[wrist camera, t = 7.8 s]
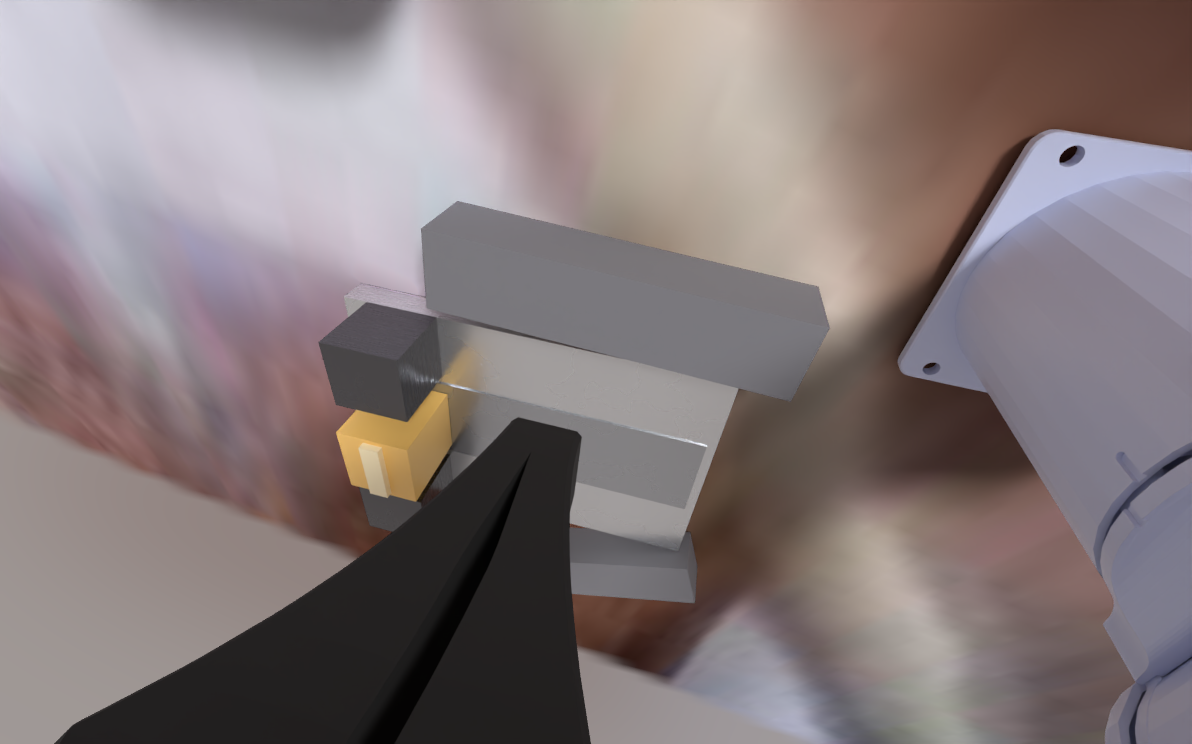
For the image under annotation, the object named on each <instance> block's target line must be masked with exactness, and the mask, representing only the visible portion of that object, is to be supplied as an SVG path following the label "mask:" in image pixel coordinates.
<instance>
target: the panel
mask: <svg viewBox="0 0 1192 744" xmlns="http://www.w3.org/2000/svg"><path fill="white" fill-rule="evenodd" d="M344 300H345V305H346V309H347V313H348V318H347V319H346V320H344V321H343V322H342V323H341V324H340V325H339V326H337V327H336V328H335V329H334V330H333V331H331V332H330V333H329V334H328V335H327V336H325V337H324V338H323V339H322V340H321V341H320V342H319V346H320V349H321V353H322V357H323V360H324V364H325V367H326V371H327V374H328V378H329V382H330V385H331V389H332V392H333V396H334V399H335V403H336V405H339V406H343V407H347V408H351V409H355V410H359V411H363V412H367V413H372V414H376V415H380V416H384V417H388V418H392V419H396V420H400V421H404V422H408V421H409V419H410V418H411V417H412V415H413V414H414V413H415V411H416V410H417V409H418V408H419V406H420V405H421V404H422V402H423V401H424V400H425V398H426V397H427V396H428V394H429V393H430V392H431V390H432V391H436V392H440V393H444V394H447V396H448V406H449V417H450V427H451V438H452V445H451V447H450V449H449V450H448V452H447V453H446V455H445V457H444V458H443V460H442V461H441V463H440V465H439V466H438V468H437V469H436V471H435V473H434V474H433V476H432V477H431V479H430V481H429V482H428V484H427V485H426V487H425V488H424V490H423V492H422V493H421V495H420V496H419V498H418V500H417V501H416V502H415V501H411V500H407V499H403V498H400V497H396V496H392V495H389V497H388V498H386V497H382V496H378V495H374V494H371V493H370V491H369V489H366V488H362V487H359V489H360V492H361V496H362V500H363V503H364V507H365V510H366V514H367V517H368V521H369V525H370V526H373V527H377V528H381V529H384V530H388V531H392V532H393V531H394V530H396V529H397V528H398V527H399V526H401V525H402V524H403V523H404V522H405V521H407V520H408V519H409V518H410V517H411V516H413V515H414V514H415V513H416V512H417V511H419V510H420V509H421V508H422V507H423V506H425V505H426V504H427V503H428V502H429V501H431V500H432V499H433V498H434V497H435V496H436V495H437V494H439V493H440V492H441V491H442V490H443V489H444V488H445V487H446V486H447V485H448V484H449V483H451V482H452V481H453V480H454V479H455V478H456V477H457V476H458V475H459V474H460V473H461V472H462V471H463V470H465V469H466V468H467V467H468V466H469V465H470V464H471V463H472V462H473V461H474V460H475V459H476V458H477V457H478V456H479V455H480V454H481V453H482V452H483V451H484V450H485V449H486V448H487V447H488V446H489V445H490V444H491V443H492V442H493V441H494V440H495V439H496V438H497V437H498V436H499V434H500V433H501V432H502V431H503V430H504V429H505V428H506V427H507V426H508V425H509V424H510V422H511V421H512V420H514V419H516V418H518V417H520V418H524V419H528V420H532V421H536V422H540V423H545V424H549V425H553V426H557V427H561V428H565V429H570V430H574V431H577V432H578V433H579V434H580V435H581V436H582V440H581V448H580V455H579V463H578V470H577V478H576V486H575V493H574V498H573V502H572V506H571V510H570V523H571V524H575V525H579V526H582V527H586V528H590V529H594V530H598V531H602V532H606V533H609V534H613V535H617V536H621V537H625V538H629V539H632V540H636V541H640V542H644V543H648V544H652V545H655V546H659V547H663V548H667V549H671V550H675V551H678V550H679V547H680V545H681V542H682V539H683V536H684V534H685V531H686V528H687V526H688V523H689V520H690V518H691V515H692V512H693V510H694V507H695V504H696V502H697V499H698V496H699V494H700V491H701V488H702V486H703V483H704V480H705V478H706V475H707V472H708V470H709V467H710V464H711V461H712V459H713V456H714V453H715V451H716V448H717V445H718V443H719V440H720V437H721V435H722V432H723V429H724V427H725V424H726V421H727V419H728V416H729V413H730V411H731V408H732V405H733V403H734V400H735V397H736V395H737V392H738V389H739V388H735V387H731V386H727V385H723V384H719V383H716V382H712V381H708V380H704V379H700V378H696V377H692V376H688V375H684V374H680V373H677V372H673V371H669V370H665V369H661V368H657V367H653V366H649V365H645V364H641V363H637V362H634V361H630V360H626V359H622V358H618V357H614V356H610V355H606V354H602V353H598V352H595V351H591V350H587V349H583V348H579V347H575V346H571V345H567V344H563V343H559V342H556V341H552V340H548V339H544V338H540V337H536V336H532V335H528V334H524V333H520V332H516V331H513V330H509V329H505V328H501V327H497V326H493V325H489V324H485V323H481V322H477V321H474V320H470V319H466V318H462V317H458V316H454V315H450V314H446V313H442V312H438V311H435V310H431V309H427V307H426V297H421V296H417V295H412V294H408V293H403V292H398V291H394V290H389V289H385V288H380V287H376V286H371V285H366V284H362V283H361V284H359V285H358V286H357V287H356V288H354V289H353V290H352V291H350V292H349V293H348V294H347V295H345V296H344Z"/></svg>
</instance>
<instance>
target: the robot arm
mask: <svg viewBox="0 0 1192 744" xmlns="http://www.w3.org/2000/svg"><path fill="white" fill-rule="evenodd" d="M1072 146H1077V151H1076V153H1075V155H1074V156H1073V157H1072V158H1071V159H1070V160H1068V161H1066V162H1064V163H1060V162H1059V158H1060V156H1061V154H1062V153H1063V152H1064V151H1065V150H1066V149H1068V148H1070V147H1072ZM897 362H898V366H899V368H900V371H901V372H902V373H903V374H905V375H908V376H911V377H916V378H921V379H925V380H930V381H935V382H939V383H944V384H949V385H953V386H958V387H963V388H968V389H972V390H977V391H982V392H986V393H988V394H989V396H990V397H991V399H992V400H993V402H994V404H995V405H996V407H997V408H998V410H999V412H1000V413H1001V415H1002V417H1003V418H1004V420H1005V421H1006V423H1007V425H1008V426H1009V428H1010V429H1011V431H1012V433H1013V434H1014V436H1015V438H1016V439H1017V441H1018V442H1019V444H1020V446H1021V447H1022V449H1023V451H1024V452H1025V454H1026V455H1027V457H1028V459H1029V460H1030V462H1031V463H1032V465H1033V467H1034V468H1035V470H1036V472H1037V473H1038V475H1039V476H1040V478H1041V480H1042V481H1043V483H1044V485H1045V486H1046V488H1047V489H1048V491H1049V493H1050V494H1051V496H1052V497H1053V499H1054V501H1055V502H1056V504H1057V506H1058V507H1059V509H1060V510H1061V512H1062V514H1063V515H1064V517H1065V518H1066V520H1067V522H1068V523H1069V525H1070V527H1071V528H1072V530H1073V531H1074V533H1075V535H1076V536H1077V538H1078V540H1079V541H1080V543H1081V544H1082V546H1083V548H1084V549H1085V551H1086V552H1087V554H1088V556H1089V557H1090V559H1091V561H1092V562H1093V564H1094V565H1095V567H1096V569H1097V570H1098V572H1099V573H1100V575H1101V576H1102V578H1103V579H1104V581H1105V583H1106V585H1107V587H1108V589H1109V591H1110V593H1111V595H1112V597H1113V599H1114V608H1113V611H1112V613H1111V615H1110V616H1109V617H1108V619H1107V620H1106V621H1105V622H1104V624H1103V626H1104V628H1105V629H1106V631H1107V633H1108V635H1109V636H1110V638H1111V640H1112V642H1113V643H1114V645H1115V647H1116V649H1117V650H1118V652H1119V654H1120V656H1121V657H1122V659H1123V661H1124V663H1125V664H1126V666H1127V668H1128V670H1129V671H1130V673H1131V675H1132V677H1133V678H1134V680H1135V682H1136V683H1134V684H1133V685H1132V686H1131V687H1129V688H1128V689H1127V690H1125V691H1124V692H1123V693H1121V695H1120V697H1119V698H1118V700H1117V701H1116V703H1115V704H1114V706H1113V707H1112V709H1111V711H1110V715H1109V719H1108V723H1107V727H1106V731H1105V744H1192V151H1191V150H1184V149H1178V148H1172V147H1166V146H1159V145H1153V144H1147V143H1140V142H1134V141H1128V140H1122V139H1115V138H1109V137H1103V136H1097V135H1090V134H1084V133H1078V132H1071V131H1065V130H1059V129H1053V130H1047V131H1044V132H1041V133H1039V134H1037V135H1036V136H1035V137H1033V138H1032V139H1031V140H1030V141H1029V142H1028V143H1027V145H1026V146H1025V147H1024V149H1023V151H1022V152H1021V154H1020V156H1019V157H1018V159H1017V161H1016V162H1015V164H1014V166H1013V167H1012V169H1011V171H1010V172H1009V174H1008V176H1007V177H1006V179H1005V181H1004V182H1003V184H1002V186H1001V187H1000V189H999V191H998V192H997V194H996V196H995V197H994V199H993V201H992V202H991V204H990V206H989V207H988V209H987V211H986V212H985V214H984V216H983V217H982V219H981V221H980V222H979V224H978V226H977V227H976V229H975V231H974V232H973V234H972V236H971V237H970V239H969V241H968V242H967V244H966V246H965V247H964V249H963V251H962V252H961V254H960V256H959V257H958V259H957V261H956V262H955V264H954V266H953V267H952V269H951V271H950V272H949V274H948V276H947V277H946V279H945V281H944V282H943V284H942V286H941V287H940V289H939V291H938V292H937V294H936V296H935V297H934V299H933V301H932V302H931V304H930V306H929V307H928V309H927V311H926V312H925V314H924V316H923V317H922V319H921V321H920V322H919V324H918V326H917V327H916V329H915V331H914V332H913V334H912V336H911V337H910V339H909V341H908V342H907V344H906V346H905V347H904V349H903V351H902V352H901V354H900V356H899V358H898V361H897ZM928 363H936V364H935V365H934V366H933V367H931V368H923V367H924V366H925V365H926V364H928ZM581 440H582V436H581V435H580V434H579V433H578V432H577V431H574V430H570V429H565V428H561V427H557V426H553V425H549V424H545V423H540V422H536V421H532V420H528V419H524V418H520V417H518V418H516V419H514V420H512V421H511V422H510V424H509V425H508V426H507V427H506V428H505V429H504V430H503V431H502V432H501V433H500V434H499V436H498V437H497V438H496V439H495V440H494V441H493V442H492V443H491V444H490V445H489V446H488V447H487V448H486V449H485V450H484V451H483V452H482V453H481V454H480V455H479V456H478V457H477V458H476V459H475V460H474V461H473V462H472V463H471V464H470V465H469V466H468V467H467V468H466V469H465V470H463V471H462V472H461V473H460V474H459V475H458V476H457V477H456V478H455V479H454V480H453V481H452V482H451V483H449V484H448V485H447V486H446V487H445V488H444V489H443V490H442V491H441V492H440V493H439V494H437V495H436V496H435V497H434V498H433V499H432V500H431V501H429V502H428V503H427V504H426V505H425V506H423V507H422V508H421V509H420V510H419V511H417V512H416V513H415V514H414V515H413V516H411V517H410V518H409V519H408V520H407V521H405V522H404V523H403V524H402V525H401V526H399V527H398V528H397V529H396V530H394V531H393V532H392V533H391V534H389V535H388V536H387V537H385V538H384V539H383V540H382V541H380V542H379V543H378V544H376V545H375V546H374V547H372V548H371V549H370V550H368V551H367V552H366V553H364V554H363V555H361V556H360V557H359V558H357V559H356V560H355V561H353V562H352V563H350V564H349V565H348V566H346V567H345V568H343V569H342V570H341V571H339V572H338V573H336V574H335V575H333V576H332V577H330V578H329V579H327V580H326V581H324V582H323V583H321V584H320V585H318V586H317V587H315V588H314V589H312V590H311V591H310V592H308V593H306V594H305V595H303V596H302V597H300V598H299V599H297V600H296V601H294V602H293V603H291V604H289V605H288V606H286V607H285V608H283V609H282V610H280V611H278V612H277V613H275V614H274V615H272V616H270V617H269V618H267V619H265V620H263V621H262V622H260V623H258V624H257V625H255V626H253V627H252V628H250V629H248V630H246V631H245V632H243V633H241V634H240V635H238V636H236V637H235V638H233V639H231V640H229V641H228V642H226V643H224V644H223V645H221V646H219V647H218V648H216V649H214V650H212V651H211V652H209V653H207V654H206V655H204V656H202V657H200V658H198V659H197V660H195V661H193V662H191V663H189V664H188V665H186V666H184V667H182V668H180V669H179V670H177V671H175V672H173V673H171V674H169V675H167V676H165V677H163V678H161V679H160V680H157V681H156V682H154V683H152V684H150V685H148V686H146V687H144V688H142V689H140V690H138V691H136V692H135V693H133V694H131V695H129V696H127V697H125V698H123V699H121V700H119V701H117V702H116V703H113V704H112V705H110V706H108V707H106V708H104V709H102V710H100V711H98V712H96V713H94V714H92V715H90V716H88V717H86V718H84V719H83V720H81V721H79V722H77V723H76V724H74V725H73V726H71V727H70V728H69V730H67V732H66V733H64V734H63V736H61V737H60V739H58V740H57V741H56V743H54V744H591V742H590V735H589V729H588V723H587V716H586V709H585V703H584V697H583V690H582V683H581V677H580V669H579V660H578V652H577V644H576V635H575V624H574V614H573V602H572V589H571V570H570V536H569V534H570V510H571V506H572V502H573V498H574V493H575V486H576V478H577V470H578V463H579V455H580V448H581Z"/></svg>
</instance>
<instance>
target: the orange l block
mask: <svg viewBox="0 0 1192 744" xmlns="http://www.w3.org/2000/svg"><path fill="white" fill-rule="evenodd" d="M336 434H337V437H338V441H339V444H340V448H341V451H342V454H343V458H344V461H345V465H346V468H347V471H348V475H349V478H350V482H351V485H354V486H358V487H362V488H366V489H369V491H370V493H371V494H374V495H378V496H382V497H386V498H388V497H389V495H392V496H396V497H400V498H403V499H407V500H411V501H415V502H416V501H417V500H418V498H419V496H420V495H421V493H422V492H423V490H424V488H425V487H426V485H427V484H428V482H429V481H430V479H431V477H432V476H433V474H434V473H435V471H436V469H437V468H438V466H439V465H440V463H441V461H442V460H443V458H444V457H445V455H446V453H447V452H448V450H449V449H450V447H451V445H452V438H451V427H450V417H449V406H448V396H447V394H444V393H440V392H436V391H432V390H431V392H430V393H429V394H428V396H427V397H426V398H425V400H424V401H423V402H422V404H421V405H420V406H419V408H418V409H417V410H416V411H415V413H414V414H413V415H412V417H411V418H410V419H409V421H408V422H404V421H400V420H396V419H392V418H388V417H384V416H380V415H376V414H372V413H367V412H363V411H359V410H356V411H355V412H354V413H353V414H352V416H351V417H350V418H349V419H348V420H347V421H346V422H345V423H344V424H343V425H342V427H341V428H340V429H339V430H338V431H337V432H336Z"/></svg>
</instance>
